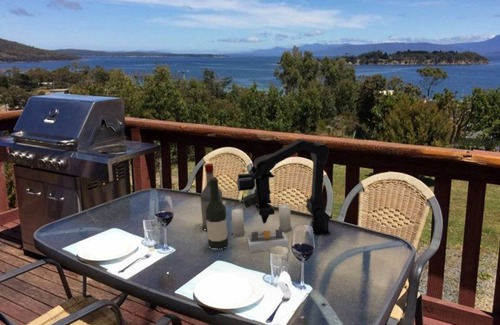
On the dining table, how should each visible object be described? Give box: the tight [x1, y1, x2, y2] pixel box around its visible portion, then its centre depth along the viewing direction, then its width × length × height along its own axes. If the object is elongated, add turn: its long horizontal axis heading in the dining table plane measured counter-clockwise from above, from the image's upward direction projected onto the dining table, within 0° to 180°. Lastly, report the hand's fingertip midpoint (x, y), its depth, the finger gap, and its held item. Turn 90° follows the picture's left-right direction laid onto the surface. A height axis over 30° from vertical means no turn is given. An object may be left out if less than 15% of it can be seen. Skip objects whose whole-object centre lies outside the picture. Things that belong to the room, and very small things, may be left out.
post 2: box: [278, 203, 293, 233], centre depth 188 cm, size 6×6×11 cm
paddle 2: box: [275, 228, 282, 238], centre depth 174 cm, size 2×1×3 cm, turn 98°
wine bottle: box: [206, 176, 229, 249], centre depth 172 cm, size 8×8×30 cm
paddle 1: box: [251, 230, 259, 240], centre depth 173 cm, size 2×1×3 cm, turn 97°
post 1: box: [231, 208, 246, 237], centre depth 186 cm, size 6×6×11 cm
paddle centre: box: [263, 229, 271, 239], centre depth 173 cm, size 2×1×3 cm, turn 97°
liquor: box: [200, 163, 224, 231], centre depth 191 cm, size 9×9×30 cm
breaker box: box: [246, 232, 290, 253], centre depth 174 cm, size 16×9×3 cm, turn 97°
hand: (264, 223), depth 178 cm, fingers closed
